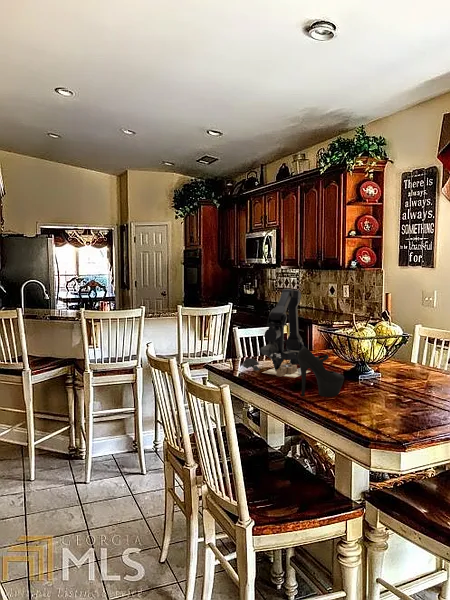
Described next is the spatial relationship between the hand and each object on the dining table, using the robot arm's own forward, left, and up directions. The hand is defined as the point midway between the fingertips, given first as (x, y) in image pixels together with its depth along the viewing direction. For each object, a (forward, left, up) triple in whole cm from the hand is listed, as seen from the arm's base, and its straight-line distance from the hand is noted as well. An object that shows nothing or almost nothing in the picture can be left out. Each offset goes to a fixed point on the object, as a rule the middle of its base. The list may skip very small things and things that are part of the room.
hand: (276, 371), depth 234 cm
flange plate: (-4, +2, -2) cm, 5 cm away
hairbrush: (-9, -19, -3) cm, 21 cm away
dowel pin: (-5, +9, -2) cm, 11 cm away
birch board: (-8, +1, -3) cm, 8 cm away
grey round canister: (-8, +1, -3) cm, 8 cm away
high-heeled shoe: (+16, +30, -3) cm, 34 cm away
